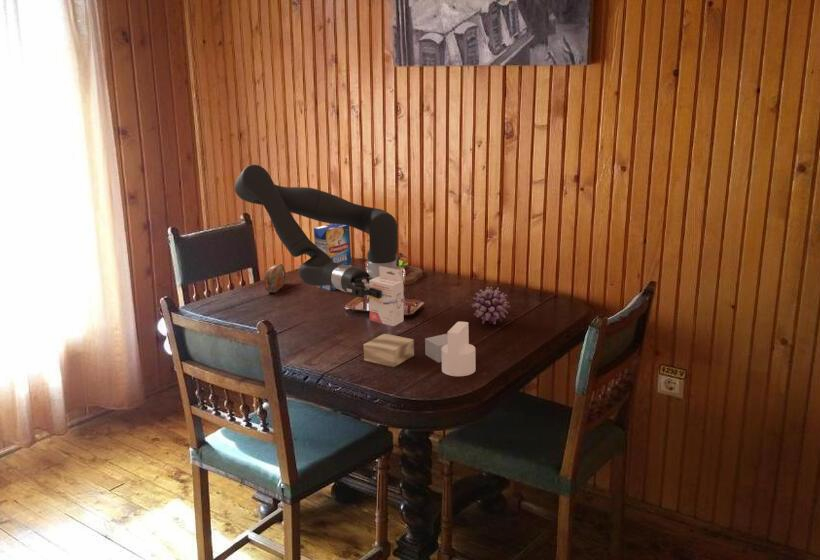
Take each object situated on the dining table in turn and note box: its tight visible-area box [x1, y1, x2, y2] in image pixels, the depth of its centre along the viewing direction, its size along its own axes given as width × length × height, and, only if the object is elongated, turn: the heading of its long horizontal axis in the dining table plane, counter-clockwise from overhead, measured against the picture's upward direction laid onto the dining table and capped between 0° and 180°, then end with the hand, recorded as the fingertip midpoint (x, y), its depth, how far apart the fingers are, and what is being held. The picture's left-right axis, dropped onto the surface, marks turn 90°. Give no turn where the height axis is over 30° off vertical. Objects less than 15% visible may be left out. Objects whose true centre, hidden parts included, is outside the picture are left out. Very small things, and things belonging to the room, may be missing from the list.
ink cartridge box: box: [368, 266, 405, 327], centre depth 222 cm, size 9×5×15 cm, turn 55°
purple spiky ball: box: [471, 286, 511, 325], centre depth 250 cm, size 12×12×12 cm
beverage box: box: [313, 223, 352, 292], centre depth 293 cm, size 7×11×22 cm, turn 137°
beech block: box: [363, 333, 415, 368], centre depth 226 cm, size 10×10×5 cm
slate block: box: [424, 333, 448, 363], centre depth 226 cm, size 7×7×5 cm
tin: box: [263, 263, 286, 293], centre depth 293 cm, size 15×3×8 cm, turn 168°
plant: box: [396, 252, 424, 286], centre depth 303 cm, size 20×20×11 cm
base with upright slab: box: [441, 321, 477, 377], centre depth 216 cm, size 9×9×12 cm
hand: (389, 292), depth 220 cm, fingers closed on ink cartridge box, 5 cm apart
